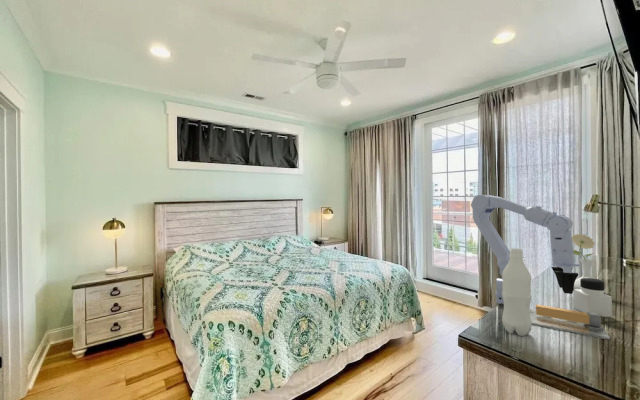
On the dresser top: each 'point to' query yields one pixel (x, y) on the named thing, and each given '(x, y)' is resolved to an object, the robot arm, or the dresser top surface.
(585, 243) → the flower in vase
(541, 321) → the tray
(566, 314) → the tan piece
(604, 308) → the medicine bottle
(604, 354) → the dresser top surface
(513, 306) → the water bottle
